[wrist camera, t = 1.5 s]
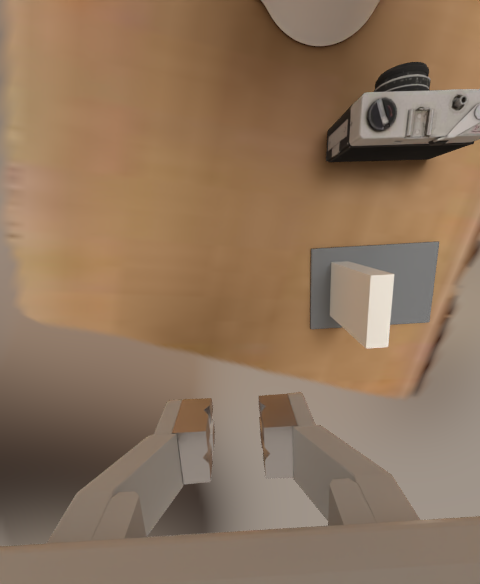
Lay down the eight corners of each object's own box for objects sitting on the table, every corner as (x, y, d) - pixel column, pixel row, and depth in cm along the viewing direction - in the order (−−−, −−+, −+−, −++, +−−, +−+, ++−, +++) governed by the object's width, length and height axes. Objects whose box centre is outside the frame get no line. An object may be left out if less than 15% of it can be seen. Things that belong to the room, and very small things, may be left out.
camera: (444, 95, 33) (530, 44, 23) (422, 174, 35) (492, 157, 25) (335, 81, 32) (377, 23, 22) (321, 162, 35) (354, 140, 25)
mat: (310, 248, 37) (311, 249, 36) (437, 241, 37) (439, 241, 37) (310, 328, 40) (310, 329, 39) (427, 321, 40) (429, 322, 39)
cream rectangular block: (331, 262, 37) (370, 275, 26) (349, 261, 37) (395, 274, 26) (329, 315, 39) (366, 348, 28) (346, 314, 39) (389, 347, 28)
